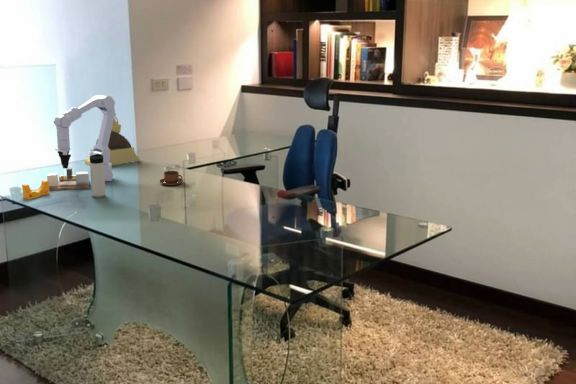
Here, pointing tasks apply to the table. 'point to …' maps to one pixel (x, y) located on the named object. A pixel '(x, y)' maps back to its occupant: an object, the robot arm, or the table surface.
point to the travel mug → (97, 176)
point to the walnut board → (68, 186)
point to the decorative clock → (118, 147)
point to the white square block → (52, 179)
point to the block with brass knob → (68, 176)
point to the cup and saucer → (171, 178)
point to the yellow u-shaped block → (37, 193)
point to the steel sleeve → (82, 178)
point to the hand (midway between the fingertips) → (64, 166)
